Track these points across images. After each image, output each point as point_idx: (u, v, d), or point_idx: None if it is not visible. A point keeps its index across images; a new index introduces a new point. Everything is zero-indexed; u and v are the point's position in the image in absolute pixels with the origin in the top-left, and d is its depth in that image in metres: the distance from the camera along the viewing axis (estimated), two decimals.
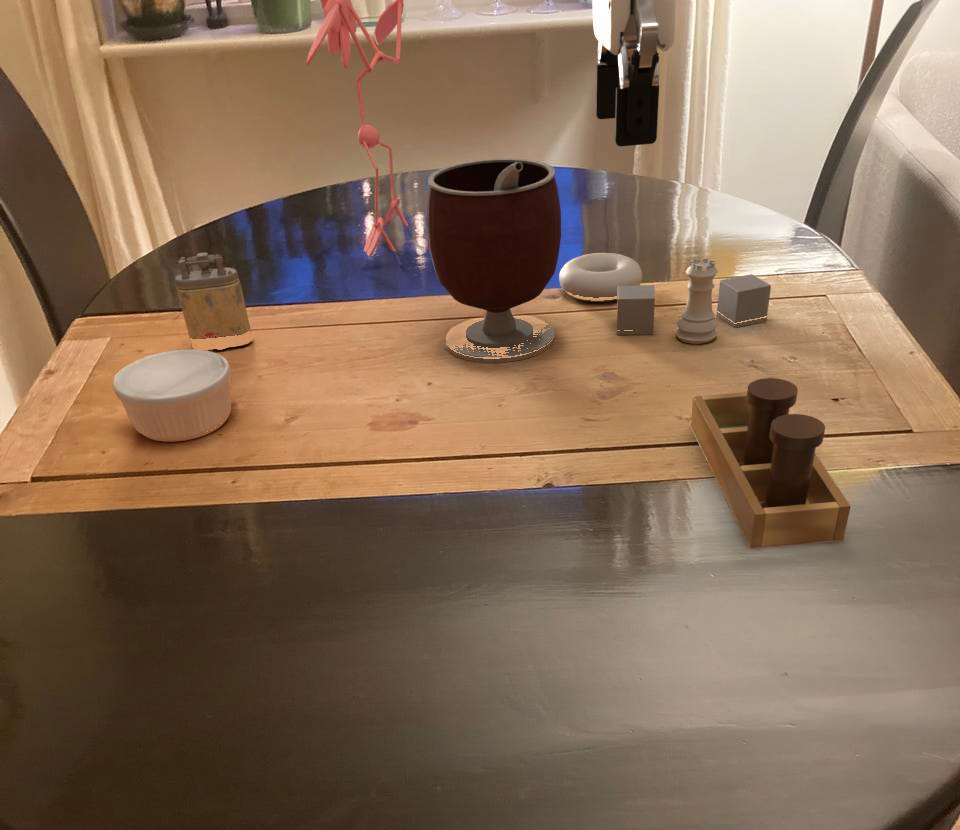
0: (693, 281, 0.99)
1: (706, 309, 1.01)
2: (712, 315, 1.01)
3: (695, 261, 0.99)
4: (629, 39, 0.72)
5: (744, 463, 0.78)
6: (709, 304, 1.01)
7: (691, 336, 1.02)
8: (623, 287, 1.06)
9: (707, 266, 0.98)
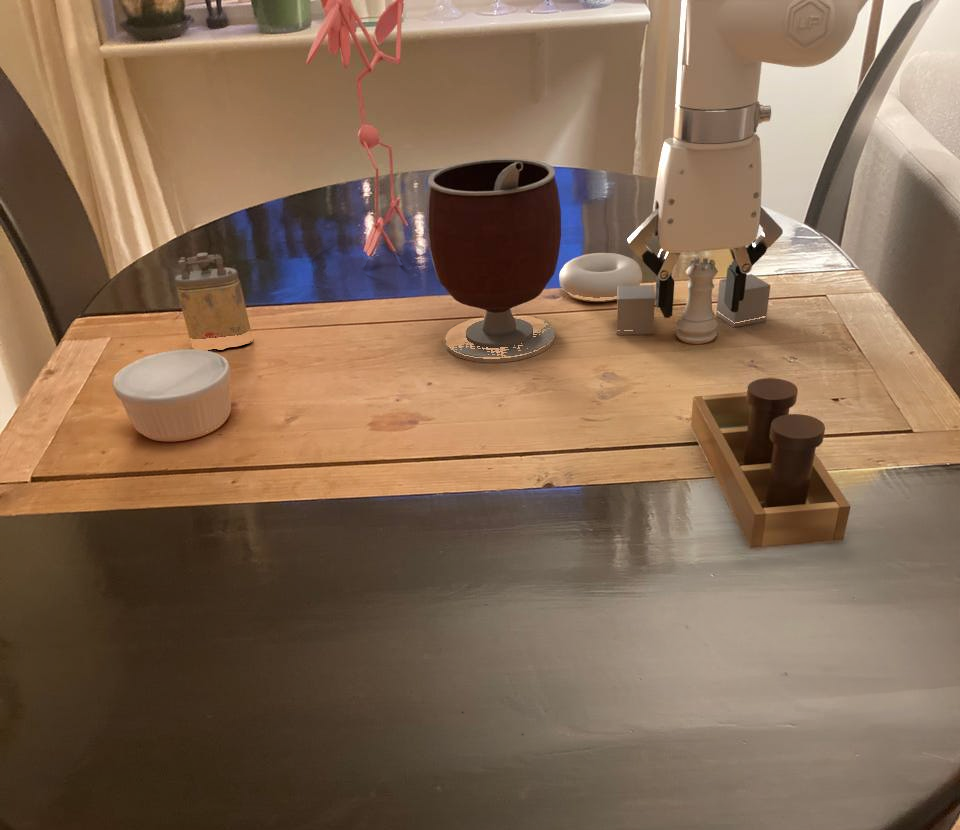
0: (693, 281, 0.99)
1: (706, 309, 1.01)
2: (712, 315, 1.01)
3: (695, 261, 0.99)
4: None
5: (744, 463, 0.78)
6: (709, 304, 1.01)
7: (691, 336, 1.02)
8: (623, 287, 1.06)
9: (707, 266, 0.98)
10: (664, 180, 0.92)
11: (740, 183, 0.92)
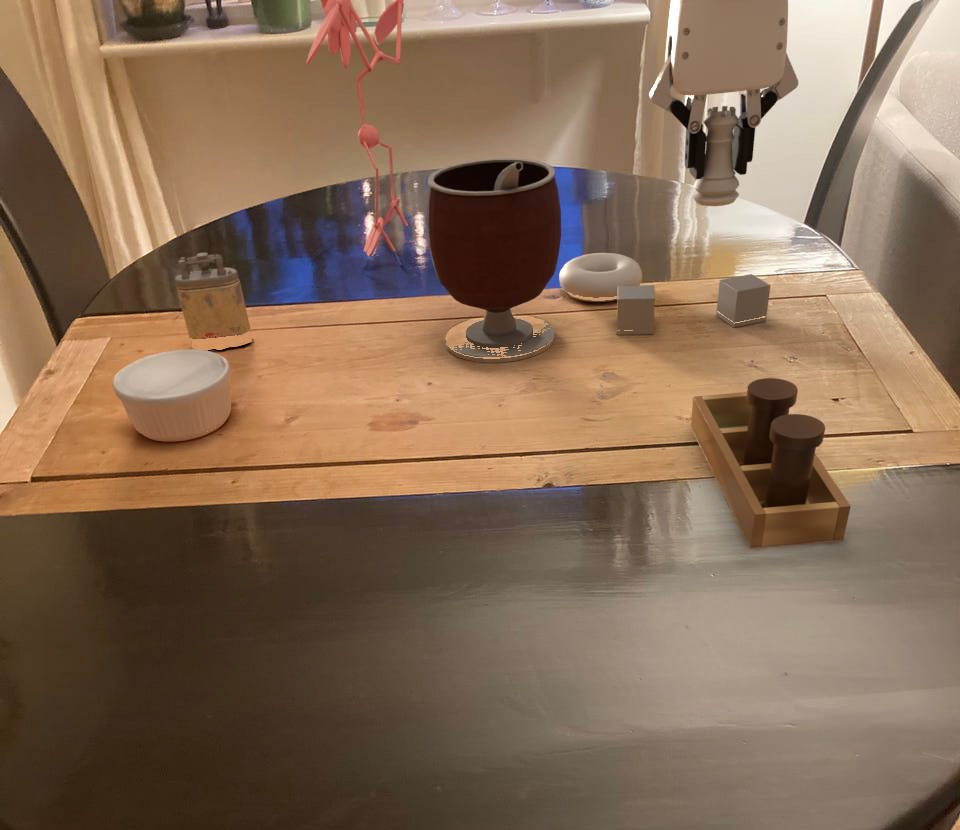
0: (711, 131, 0.89)
1: (726, 164, 0.90)
2: (733, 172, 0.91)
3: (713, 110, 0.89)
4: None
5: (744, 463, 0.78)
6: (729, 159, 0.90)
7: (710, 197, 0.92)
8: (623, 287, 1.06)
9: (727, 112, 0.88)
10: (678, 6, 0.82)
11: (764, 7, 0.81)
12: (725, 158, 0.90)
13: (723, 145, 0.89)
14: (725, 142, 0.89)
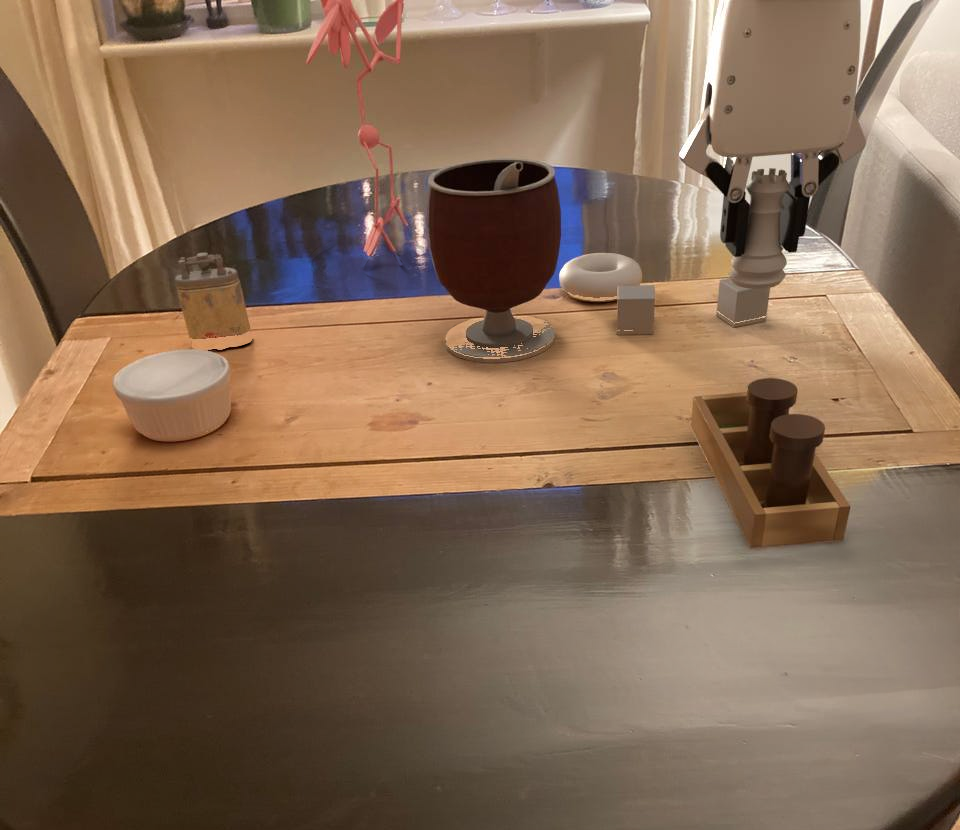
0: (756, 200, 0.72)
1: (773, 240, 0.73)
2: (780, 249, 0.74)
3: (759, 173, 0.72)
4: None
5: (744, 463, 0.78)
6: (776, 233, 0.73)
7: (751, 278, 0.75)
8: (623, 287, 1.06)
9: (776, 177, 0.70)
10: (721, 48, 0.65)
11: (830, 52, 0.64)
12: (771, 232, 0.73)
13: (770, 217, 0.72)
14: (772, 213, 0.72)
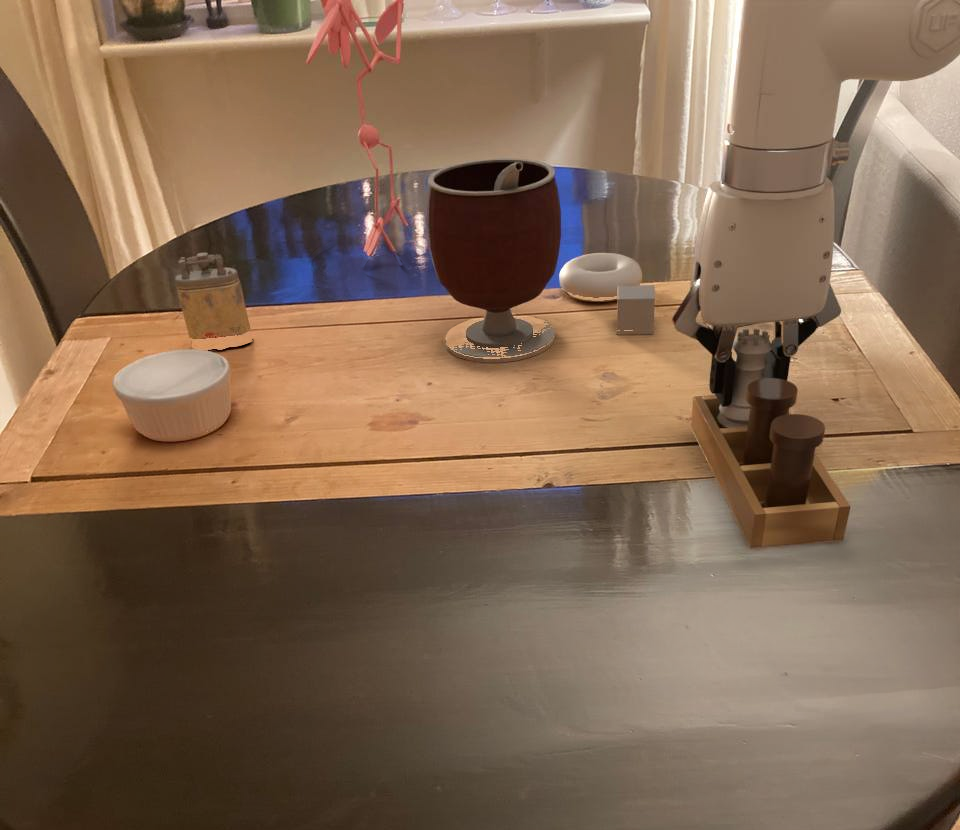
0: (741, 358, 0.79)
1: None
2: None
3: (744, 333, 0.79)
4: None
5: (744, 463, 0.78)
6: None
7: (737, 424, 0.81)
8: (623, 287, 1.06)
9: (760, 341, 0.77)
10: (709, 237, 0.72)
11: (807, 241, 0.71)
12: None
13: (754, 373, 0.79)
14: (757, 370, 0.79)
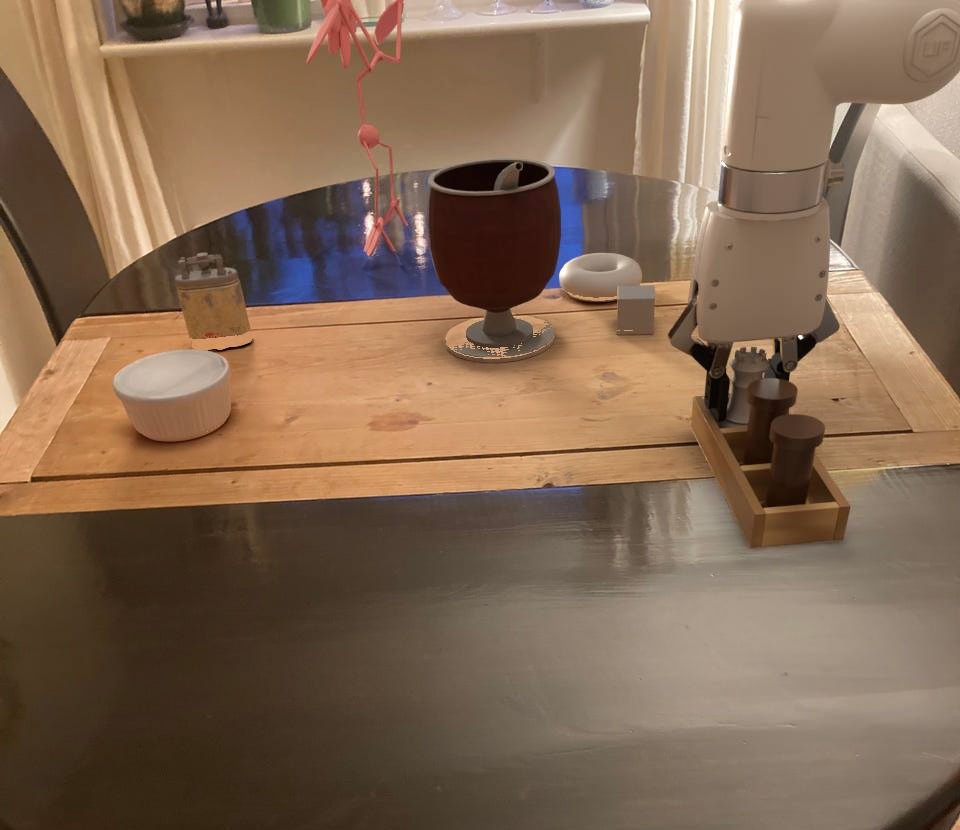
0: (739, 376, 0.80)
1: None
2: None
3: (741, 351, 0.80)
4: None
5: (744, 463, 0.78)
6: None
7: None
8: (623, 287, 1.06)
9: (757, 359, 0.78)
10: (706, 256, 0.73)
11: (803, 260, 0.72)
12: None
13: None
14: None
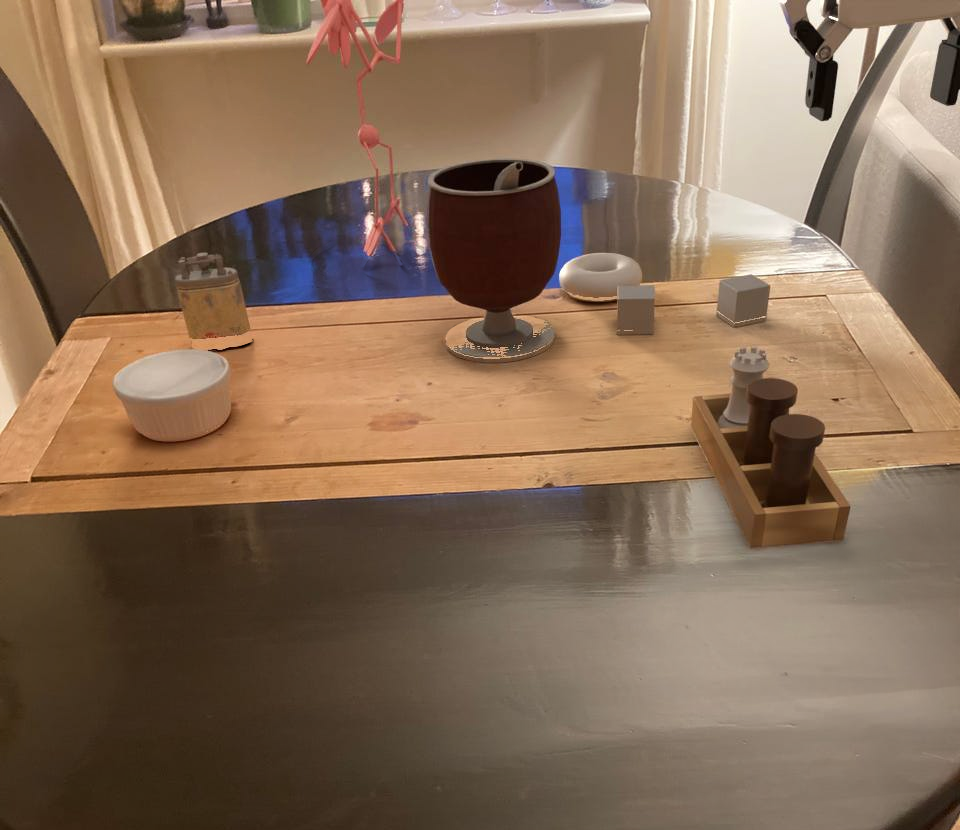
0: (739, 376, 0.80)
1: None
2: None
3: (741, 351, 0.80)
4: None
5: (744, 463, 0.78)
6: None
7: None
8: (623, 287, 1.06)
9: (757, 359, 0.78)
10: None
11: None
12: None
13: None
14: None
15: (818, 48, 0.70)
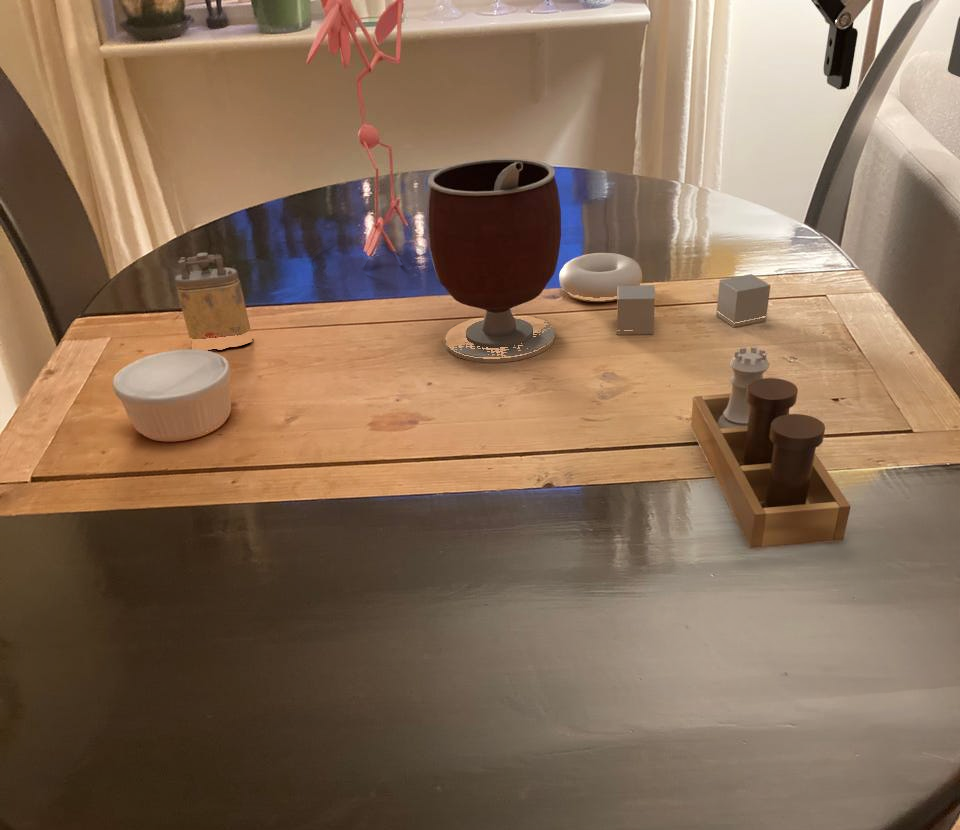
0: (739, 376, 0.80)
1: None
2: None
3: (741, 351, 0.80)
4: None
5: (744, 463, 0.78)
6: None
7: None
8: (623, 287, 1.06)
9: (757, 359, 0.78)
10: None
11: None
12: None
13: None
14: None
15: (838, 14, 0.70)
